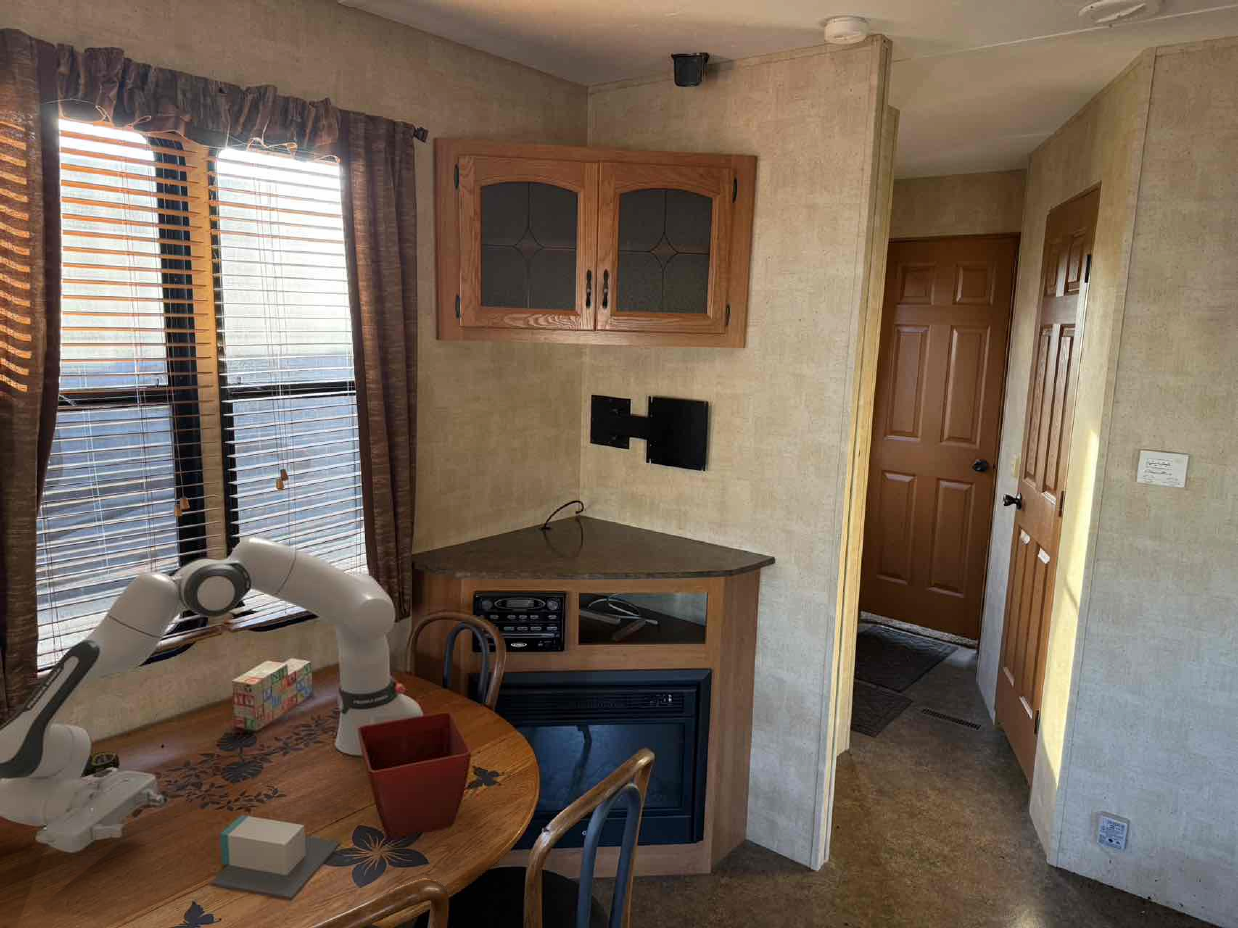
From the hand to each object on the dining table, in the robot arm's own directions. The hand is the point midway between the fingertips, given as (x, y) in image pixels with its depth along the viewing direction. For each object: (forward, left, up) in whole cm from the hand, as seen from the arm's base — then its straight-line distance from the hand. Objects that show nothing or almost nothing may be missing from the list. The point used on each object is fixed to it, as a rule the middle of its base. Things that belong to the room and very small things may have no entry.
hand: (142, 816), depth 158 cm
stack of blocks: (-33, -50, -9) cm, 60 cm away
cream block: (-14, +7, -5) cm, 16 cm away
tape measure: (+6, -37, -9) cm, 39 cm away
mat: (-20, +14, -9) cm, 26 cm away
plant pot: (-47, +12, -9) cm, 49 cm away
